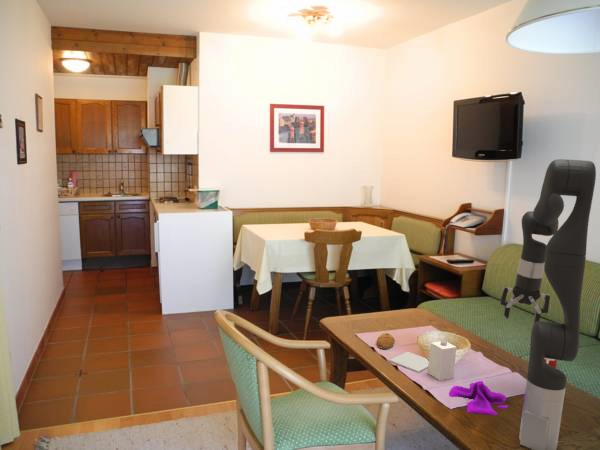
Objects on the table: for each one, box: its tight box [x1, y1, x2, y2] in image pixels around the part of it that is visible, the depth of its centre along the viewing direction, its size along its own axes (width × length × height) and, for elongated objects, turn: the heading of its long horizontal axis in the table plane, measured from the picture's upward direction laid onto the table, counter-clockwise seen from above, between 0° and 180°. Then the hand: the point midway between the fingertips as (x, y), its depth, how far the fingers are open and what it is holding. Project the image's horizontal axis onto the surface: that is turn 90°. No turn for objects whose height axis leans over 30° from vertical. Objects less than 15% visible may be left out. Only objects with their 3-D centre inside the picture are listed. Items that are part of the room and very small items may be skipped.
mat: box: [388, 351, 429, 373], centre depth 185 cm, size 12×12×1 cm
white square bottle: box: [427, 340, 457, 381], centre depth 174 cm, size 6×6×12 cm
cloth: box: [448, 380, 509, 416], centre depth 161 cm, size 22×19×6 cm
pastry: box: [376, 332, 396, 350], centre depth 199 cm, size 9×7×4 cm
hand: (520, 320), depth 169 cm, fingers open, 8 cm apart
